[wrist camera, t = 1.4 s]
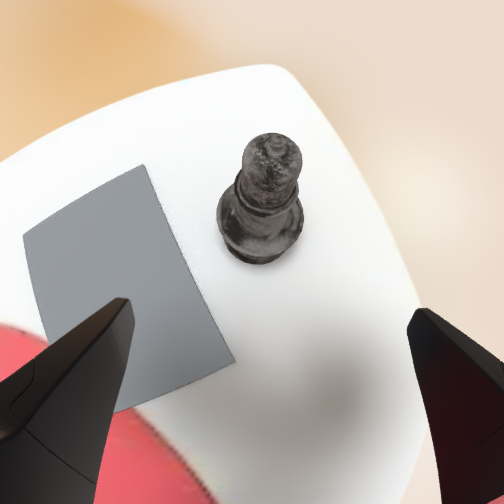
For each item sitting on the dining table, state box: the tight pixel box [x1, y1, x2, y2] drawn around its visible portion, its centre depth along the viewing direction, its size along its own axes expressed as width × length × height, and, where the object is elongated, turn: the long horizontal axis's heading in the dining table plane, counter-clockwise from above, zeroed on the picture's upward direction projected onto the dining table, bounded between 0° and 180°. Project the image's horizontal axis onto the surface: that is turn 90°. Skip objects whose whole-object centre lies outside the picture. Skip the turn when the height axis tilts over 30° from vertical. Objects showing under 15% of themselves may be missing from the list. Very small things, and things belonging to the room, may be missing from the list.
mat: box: [23, 164, 235, 413], centre depth 20 cm, size 18×14×1 cm
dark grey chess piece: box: [217, 133, 304, 264], centre depth 17 cm, size 6×6×12 cm
